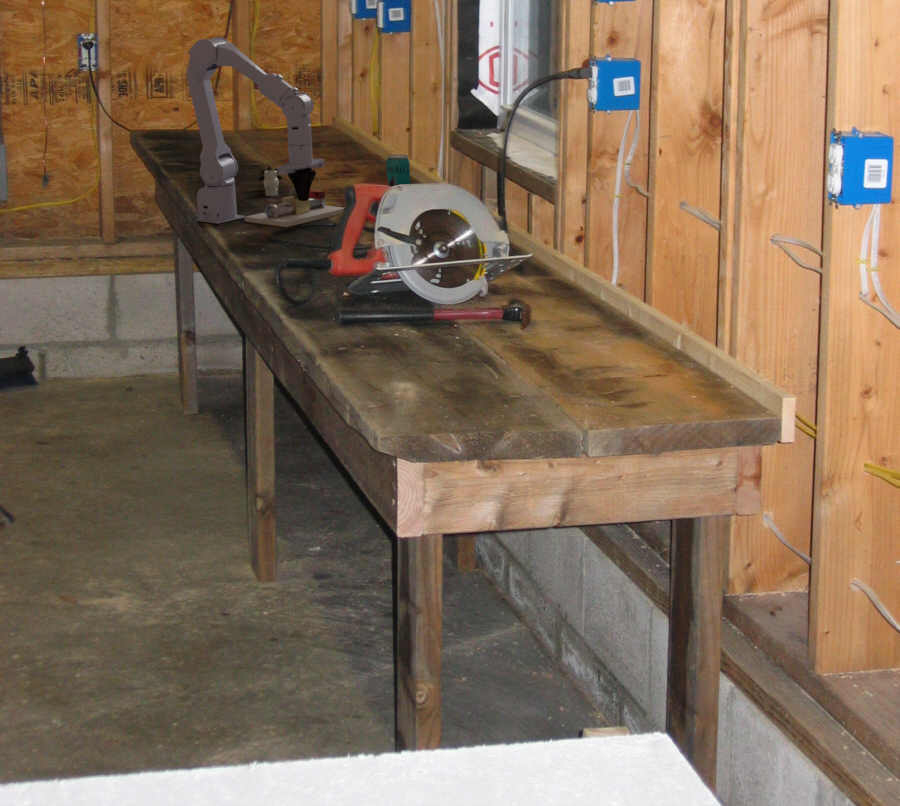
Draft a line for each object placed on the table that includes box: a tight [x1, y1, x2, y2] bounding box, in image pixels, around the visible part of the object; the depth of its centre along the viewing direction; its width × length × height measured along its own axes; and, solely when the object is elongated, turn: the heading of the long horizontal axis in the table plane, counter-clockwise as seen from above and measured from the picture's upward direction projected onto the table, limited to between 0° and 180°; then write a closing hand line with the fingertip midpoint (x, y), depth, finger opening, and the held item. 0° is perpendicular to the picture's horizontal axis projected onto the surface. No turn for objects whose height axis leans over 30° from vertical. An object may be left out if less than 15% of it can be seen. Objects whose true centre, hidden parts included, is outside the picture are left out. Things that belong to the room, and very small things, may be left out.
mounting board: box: [244, 205, 345, 228], centre depth 356 cm, size 22×14×1 cm, turn 142°
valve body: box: [264, 195, 327, 219], centre depth 355 cm, size 18×5×4 cm, turn 142°
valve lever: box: [289, 188, 326, 199], centre depth 352 cm, size 10×3×2 cm, turn 53°
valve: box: [257, 165, 283, 197], centre depth 391 cm, size 7×7×12 cm
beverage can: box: [385, 154, 411, 186], centre depth 351 cm, size 6×6×15 cm
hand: (303, 200), depth 347 cm, fingers closed
